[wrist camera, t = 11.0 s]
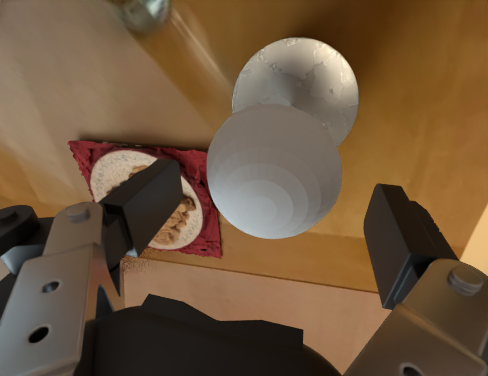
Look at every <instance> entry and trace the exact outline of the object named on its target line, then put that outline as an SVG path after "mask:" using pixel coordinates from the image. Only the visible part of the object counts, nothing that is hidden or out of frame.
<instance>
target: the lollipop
mask: <svg viewBox="0 0 488 376" xmlns="http://www.w3.org/2000/svg"><path fill="white" fill-rule="evenodd" d="M207 180H208V187H209V190H210V193H211V196H212V199H213V201H214V203H215V205H216V207H217V208H218V210H219V211H220V212H221V214H222V215H223V216H224V217H225V218H226V219H227V220H228V221H229V222H230V223H231V224H233V225H234V226H235V227H236V228H238V229H240V230H241V231H243V232H245V233H248V234H250V235H252V236H256V237H260V238H267V239H280V238H286V237H291V236H295V235H297V234H300V233H303V232H305V231H306V230H308V229H310V228H311V227H313V226H314V225H315V224H316V223H318V222H319V221H320V220H321V219H322V218H323V217H324V216H325V215H327V214H328V213H329V212H330V210H331V209H332V207H333V206H334V204H335V203H336V201H337V198H338V195H339V193H340V189H341V181H342V166H341V158H340V155H339V152H338V149H337V146H336V144H335V142H334V140H333V138H332V137H331V135H330V134H329V132H328V130H327V129H326V128H325V127H324V126H323V125H322V124H321V123H320V122H319V121H318V120H317V119H315V118H314V117H312V116H311V115H310V114H308V113H306V112H304V111H301V110H299V109H297V108H294V106H285V105H281V104H259V105H254V106H249V107H247V108H245V109H242V110H240V111H238V112H236V113H235V114H233V115H232V116H231V117H229V118H228V119H227V120H226V121H225V122H224V123H223V124H222V126H221V127H220V128H219V129H218V131H217V132H216V134H215V136H214V138H213V140H212V142H211V144H210V146H209V150H208V154H207Z"/></svg>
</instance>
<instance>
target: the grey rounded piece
mask: <svg viewBox="0 0 488 376" xmlns="http://www.w3.org/2000/svg"><path fill="white" fill-rule="evenodd" d="M259 104H281V105H285V106H294V108H297V109H299V110H301V111H304V112H306V113H308V114H310V115H311V116H312V117H314V118H315V119H317V120H318V121H319V122H320V123H321V124H322V125H323V126H324V127H325V128H326V129H327V130H328V132H329V134H330V135H331V137H332V138H333V140H334V142H335V144H336V146H337V147H338V146H339V145H340V144H341V143H342V142H343V140H344V139H345V138H346V136H347V135H348V133H349V132H350V130H351V128H352V126H353V124H354V121H355V119H356V116H357V111H358V104H359V92H358V85H357V81H356V78H355V75H354V73H353V70H352V69H351V67H350V65H349V63H348V62H347V61H346V60H345V58H344V57H343V56H342V55H341V54H340V53H339V52H338V51H337V50H335V49H334V48H332V47H331V46H329V45H328V44H326V43H324V42H322V41H319V40H316V39H312V38H306V37H291V38H286V39H281V40H278V41H275V42H273V43H271V44H269V45H267V46H265V47H264V48H262V49H261V50H259V51H258V52H257V53H256V54H255V55H253V56H252V57H251V58H250V60H249V61H248V62H247V63H246V64H245V66H244V67H243V69H242V70H241V72H240V74H239V76H238V78H237V81H236V84H235V87H234V91H233V98H232V111H233V114H235V113H236V112H238V111H240V110H242V109H245V108H247V107H249V106H254V105H259Z"/></svg>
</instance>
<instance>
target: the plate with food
mask: <svg viewBox="0 0 488 376" xmlns="http://www.w3.org/2000/svg"><path fill="white" fill-rule="evenodd" d="M68 145H70V150H71V151H72V152H73V153H74V154H73V157H74V158H75V160H76V161H77V162H78V165H79V170H82V174H81V175H82V176H84V177H85V179H86V182H87V184H88V186H89V188H90V189H89V191H90V193H91V195H92V196H93V198H94V199H93V200H92V202H99V201H100V200H101V199H103V198H104V197H105V196H106V195H108V194H109V193H110V192H112V191H113V190H114V189H115V188H117V187H118V186H121V184H122V183H123V182H124V181H126V180H128V178H129V177H131V176H132V175H133V174H135V173H136V172H138V171H141V170H143V169H145V168H147V167H148V166H150V165H151V164H152V163H153V162H154V161H156V160H157V159H159V158H162V159H171V160H176V161H177V162H178V163H179V167H180V174H181V181H182V188H183V198H182V201H181V203H180V205H179V206H178V208H177V209H176V210H175V211H174V213H173V214H172V215H171V216H170V218H169V219H168V220H167V222H166V223H165V224H164V225H163V227H162V228H161V229H160V230H159V232H158V233H157V234H156V235H155V237H154V238H153V239H152V241H151V242H150V243H149V244H148V246H147V247H151V248H153V249H154V248H155V249H156V250H159V251H162V250H168V251H179V252H182V253H185V254H195V255H199V256H201V255H202V256H203V257H204V256H213V257H217V258H220V259H221V247H220V237H219V236H220V235H219V228H218V217H217V211H216V209H215V207H214V206H213V204H212V203H211V202H212V200H211V199H210V198H209V195H211V193H210V191H209V190H208V189H209V187H208V180H207V154H208V153H205V152H201V151H195V150H194V149H192V150H189V151H178V150H176V148H175V147H174V148H172V147H170V148H169V147H168V148H160V147H150V146H149V147H148V146H146V147H145V146H141V145H136V146H135V147H141V148H146V149H130V148H122V146H121V145H126V144H122V143H121V144H120V143H110V144H109V143H108V142H107V141H106V142H104V141H103V143H95V142H90V141H68ZM124 147H125V146H124ZM126 147H128V145H126ZM201 179H202V180H203V183H205V186H206V187H203V186H202V185H201V184H200V181H201ZM207 188H208V189H207ZM208 201H209V204H208ZM147 247H146V248H147ZM200 249H206V250H207V251H201V250H200Z"/></svg>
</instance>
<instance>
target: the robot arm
mask: <svg viewBox="0 0 488 376" xmlns="http://www.w3.org/2000/svg"><path fill="white" fill-rule="evenodd" d="M182 198H183V188H182V181H181V174H180V167H179V163H178V162H177V161H176V160H171V159H162V158H159V159H157V160H156V161H154V162H153V163H152V164H151V165H150V166H148V167H147V168H145V169H143V170H141V171H138V172H136V173H135V174H133V175H132V176H131V177H129V178H128V180H126V181H124V182H123V183H122V184H121V186H118V187H117V188H115V189H114V190H113V191H112V192H110V193H109V194H108V195H106V196H105V197H104V198H103V199H101V200H100V201H99V202H82V203H78V204H74V205H72V206H69V207H67V208H65V209H63V210H62V211H60V212H59V213H58V214H57V215H56V216H55V217H47V218H38V217H37V215H36V213H35V212H34V210H33V208H32V207H31V206H27V205H17V206H11V207H7V208H4V209H1V210H0V259H1V260H2V262H3V263H4V265H5V266H6V267H7V269H8V270H9V271H10V273H9V274H8V275H7V276H6V277H4V278H3V279H2V280H1V281H0V376H342V375H341V374H340V373H339V371H338V370H337V369H336V368H335V367H334V366H333V365H332V364H331V363H330V362H329V361H327V360H326V359H325V358H324V357H323V356H321V355H320V354H319V353H317V352H316V351H314V350H313V349H312V348H310V347H308V346H306V345H304V344H303V330H302V329H298V328H294V327H289V326H285V325H281V324H277V323H272V322H268V321H264V320H243V321H218V320H215V319H213V318H211V317H210V316H208V315H206V314H204V313H202V312H201V311H199V310H197V309H195V308H193V307H192V306H190V305H188V304H186V303H185V302H182V301H178V300H173V299H169V298H165V297H160V296H156V295H152V294H148V296H147V298H146V299H145V301H144V302H143V304H142V305H141V306H134V307H128V308H125V295H124V269H123V262H122V258H123V257H124V256H125V255H129V256H134V257H139V256H140V255H141V253H142V252H143V251H144V249H145V248H146V247H147V246H148V244H149V243H150V242H151V241H152V239H153V238H154V237H155V235H156V234H157V233H158V232H159V230H160V229H161V228H162V227H163V225H164V224H165V223H166V222H167V220H168V219H169V218H170V216H171V215H172V214H173V213H174V211H175V210H176V209H177V208H178V206H179V205H180V203H181V201H182ZM364 235H365V239H366V243H367V247H368V251H369V255H370V259H371V263H372V267H373V271H374V275H375V279H376V283H377V287H378V291H379V295H380V299H381V303H382V307H383V308H385V309H390V310H392V312H391V313H390V314H389V315H388V317H387V318H386V319H385V321H384V322H383V323H382V325H381V326H380V327H379V329H378V330H377V331H376V333H375V334H374V335H373V336H372V338H371V339H370V340H369V342H368V343H367V344H366V346H365V347H364V348H363V350H362V351H361V352H360V354H359V355H358V356H357V357H356V359H355V360H354V361H353V363H352V364H351V365H350V367H349V368H348V369H347V371H346V372H345V373H344V375H343V376H488V276H487V275H485V274H484V273H483V272H481V271H480V270H478V269H476V268H474V267H473V266H471V265H468V264H466V263H463V262H461V261H459V260H458V258H457V257H456V255H455V253H454V252H453V250H452V249H451V247H450V246H449V244H448V242H447V241H446V239H445V238H444V236H443V235H442V233H441V232H439V228H438V227H437V225H436V224H435V223H434V220H433V219H432V217H431V216H430V214H429V213H428V211H427V210H426V209H424V208H423V207H422V206H421V205H419V204H418V203H417V202H416V201H409V199H408V197H407V195H406V194H405V192H404V190H403V188H402V187H401V186H396V185H387V184H377V185H376V186H375V188H374V191H373V194H372V197H371V200H370V203H369V206H368V209H367V212H366V215H365V219H364Z"/></svg>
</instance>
